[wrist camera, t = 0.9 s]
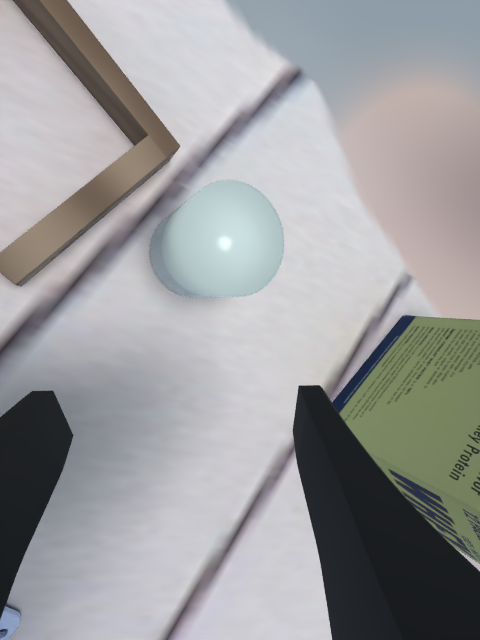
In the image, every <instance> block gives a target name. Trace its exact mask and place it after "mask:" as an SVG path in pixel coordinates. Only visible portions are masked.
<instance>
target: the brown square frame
mask: <svg viewBox="0 0 480 640" xmlns="http://www.w3.org/2000/svg"><path fill="white" fill-rule="evenodd" d="M13 1H14V2H15V3H16V4H17V5H18V7H19V8H20V9H21V10H22V11H23V12H24V14H25V15H26V16H27V17H28V18H29V20H30V21H31V22H32V23H33V24H34V26H35V27H36V28H37V29H38V30H39V32H40V33H41V34H42V35H43V36H44V38H45V39H46V40H47V41H48V42H49V44H50V45H51V46H52V47H53V48H54V50H55V51H56V52H57V53H58V54H59V56H60V57H61V58H62V59H63V60H64V62H65V63H66V64H67V65H68V66H69V68H70V69H71V70H72V71H73V72H74V73H75V75H76V76H77V77H78V78H79V79H80V81H81V82H82V83H83V84H84V85H85V87H86V88H87V89H88V90H89V91H90V93H91V94H92V95H93V96H94V97H95V99H96V100H97V101H98V102H99V103H100V105H101V106H102V107H103V108H104V109H105V111H106V112H107V113H108V114H109V115H110V117H111V118H112V119H113V120H114V121H115V123H116V124H117V125H118V126H119V127H120V129H121V130H122V131H123V132H124V133H125V134H126V136H127V137H128V138H129V139H130V140H131V142H132V143H133V144H134V145H135V146H134V147H133V148H132V149H130V150H129V151H128V152H127V153H125V154H124V155H123V156H122V157H120V158H119V159H118V160H116V161H115V162H114V163H113V164H111V165H110V166H109V167H108V168H106V169H105V170H104V171H103V172H101V173H100V174H99V175H98V176H96V177H95V178H94V179H93V180H91V181H90V182H89V183H87V184H86V185H85V186H84V187H82V188H81V189H80V190H79V191H77V192H76V193H75V194H74V195H72V196H71V197H70V198H69V199H67V200H66V201H65V202H64V203H62V204H61V205H60V206H58V207H57V208H56V209H55V210H53V211H52V212H51V213H50V214H48V215H47V216H46V217H45V218H43V219H42V220H41V221H40V222H38V223H37V224H36V225H35V226H33V227H32V228H31V229H29V230H28V231H27V232H26V233H24V234H23V235H22V236H21V237H19V238H18V239H17V240H16V241H14V242H13V243H12V244H11V245H9V246H8V247H7V248H6V249H4V250H3V251H2V252H0V273H1V274H3V275H4V276H5V277H6V278H7V279H9V280H10V281H11V282H12V283H13V284H15V285H18V286H22V285H23V284H25V283H26V282H27V281H28V280H29V279H31V278H32V277H33V276H34V275H35V274H36V273H38V272H39V271H40V270H41V269H42V268H44V267H45V266H46V265H47V264H48V263H49V262H51V261H52V260H53V259H54V258H55V257H57V256H58V255H59V254H60V253H61V252H62V251H64V250H65V249H66V248H67V247H68V246H70V245H71V244H72V243H73V242H74V241H75V240H77V239H78V238H79V237H80V236H81V235H83V234H84V233H85V232H86V231H87V230H88V229H90V228H91V227H92V226H93V225H94V224H96V223H97V222H98V221H99V220H100V219H101V218H103V217H104V216H105V215H106V214H107V213H109V212H110V211H111V210H112V209H113V208H114V207H116V206H117V205H118V204H119V203H120V202H122V201H123V200H124V199H125V198H126V197H127V196H129V195H130V194H131V193H132V192H133V191H135V190H136V189H137V188H138V187H139V186H140V185H142V184H143V183H144V182H145V181H146V180H148V179H149V178H150V177H151V176H152V175H153V174H155V173H156V172H157V171H158V170H159V169H161V168H162V167H163V166H164V165H165V164H166V163H168V162H169V161H170V159H171V158H172V157H173V155H174V154H175V153H176V151H177V150H178V149H179V147H180V145H179V144H178V142H177V141H176V140H175V138H174V137H173V136H172V135H171V133H170V132H169V131H168V130H167V128H166V127H165V126H164V124H163V123H162V122H161V121H160V119H159V118H158V117H157V115H156V114H155V113H154V112H153V110H152V109H151V108H150V106H149V105H148V104H147V103H146V101H145V100H144V99H143V97H142V96H141V95H140V94H139V92H138V91H137V90H136V88H135V87H134V86H133V85H132V83H131V82H130V81H129V79H128V78H127V77H126V76H125V74H124V73H123V72H122V70H121V69H120V68H119V67H118V65H117V64H116V63H115V61H114V60H113V59H112V58H111V56H110V55H109V54H108V52H107V51H106V50H105V49H104V47H103V46H102V45H101V43H100V42H99V41H98V40H97V38H96V37H95V36H94V34H93V33H92V32H91V31H90V29H89V28H88V27H87V25H86V24H85V23H84V22H83V20H82V19H81V18H80V16H79V15H78V14H77V13H76V11H75V10H74V9H73V7H72V6H71V5H70V4H69V2H68V1H67V0H13Z"/></svg>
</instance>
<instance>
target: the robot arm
mask: <svg viewBox="0 0 480 640" xmlns="http://www.w3.org/2000/svg"><path fill="white" fill-rule="evenodd" d="M293 436H294V444H295V451H296V459H297V465H298V469H299V473H300V478H301V482H302V486H303V490H304V494H305V498H306V502H307V507H308V511H309V515H310V519H311V523H312V527H313V531H314V535H315V539H316V544H317V548H318V553H319V558H320V563H321V569H322V575H323V582H324V588H325V594H326V601H327V607H328V614H329V621H330V627H331V634H332V640H480V571H479V570H478V569H477V568H476V567H474V566H473V565H472V564H471V563H470V562H469V561H468V560H467V559H466V558H465V557H464V556H463V555H462V554H460V553H459V552H458V551H457V550H456V549H455V548H454V547H453V546H452V545H451V544H450V543H449V542H448V541H447V540H446V539H445V538H444V537H443V536H442V535H441V534H440V533H439V532H438V531H437V530H436V529H435V528H434V527H433V526H432V525H431V524H430V523H429V522H428V521H427V520H426V519H425V518H424V517H423V516H422V514H421V513H420V512H419V511H418V510H417V509H416V508H415V507H414V506H413V505H412V504H411V503H410V502H409V501H408V499H407V498H406V497H405V496H404V495H403V494H402V493H401V492H400V491H399V489H398V488H397V487H396V486H395V485H394V484H393V483H392V481H391V480H390V479H389V478H388V477H387V475H386V474H385V473H384V472H383V471H382V469H381V468H380V467H379V466H378V465H377V463H376V462H375V461H374V460H373V458H372V457H371V456H370V455H369V453H368V452H367V451H366V449H365V448H364V447H363V446H362V444H361V443H360V442H359V440H358V439H357V438H356V436H355V435H354V434H353V432H352V431H351V430H350V428H349V427H348V426H347V424H346V423H345V421H344V420H343V418H342V417H341V416H340V414H339V413H338V411H337V410H336V408H335V407H334V405H333V404H332V402H331V401H330V399H329V398H328V396H327V395H326V393H325V391H324V390H323V388H322V387H321V386H320V385H313V386H299V388H298V396H297V403H296V410H295V418H294V425H293ZM72 438H73V434H72V431H71V429H70V427H69V425H68V423H67V420H66V418H65V416H64V414H63V412H62V409H61V407H60V405H59V403H58V401H57V398H56V396H55V394H54V392H53V391H32V392H30V393H29V394H28V395H27V396H25V397H24V398H23V399H22V400H21V401H19V402H18V403H17V404H16V405H15V406H13V407H12V408H11V409H10V410H9V411H7V412H6V413H5V414H4V415H3V416H2V417H0V630H2V629H7V630H6V631H4V632H0V640H7V639H8V638H9V637H10V635H11V634H12V633H13V632H14V631H15V629H16V628H17V627H18V625H19V624H20V618H21V615H20V613H19V612H18V611H16V610H13V609H11V608H8V607H6V606H5V605H6V602H7V600H8V597H9V594H10V591H11V588H12V585H13V583H14V580H15V577H16V574H17V572H18V569H19V567H20V564H21V562H22V559H23V557H24V555H25V552H26V550H27V548H28V546H29V543H30V541H31V539H32V537H33V535H34V532H35V530H36V528H37V526H38V524H39V521H40V519H41V517H42V515H43V513H44V510H45V508H46V506H47V504H48V502H49V499H50V497H51V495H52V493H53V491H54V488H55V486H56V484H57V482H58V479H59V477H60V475H61V472H62V470H63V467H64V464H65V461H66V458H67V455H68V452H69V448H70V445H71V441H72Z"/></svg>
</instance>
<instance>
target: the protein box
mask: <svg viewBox="0 0 480 640" xmlns="http://www.w3.org/2000/svg"><path fill="white" fill-rule="evenodd" d="M332 404H333V405H334V407H335V408H336V410H337V411H338V413H339V414H340V416H341V417H342V418H343V420H344V421H345V423H346V424H347V426H348V427H349V428H350V430H351V431H352V432H353V434H354V435H355V436H356V438H357V439H358V440H359V442H360V443H361V444H362V446H363V447H364V448H365V449H366V451H367V452H368V453H369V455H370V456H371V457H372V458H373V460H374V461H375V462H376V463H377V465H378V466H379V467H380V468H381V469H382V471H383V472H384V473H385V474H386V475H387V477H388V478H389V479H390V480H391V481H392V483H393V484H394V485H395V486H396V487H397V488H398V489H399V491H400V492H401V493H402V494H403V495H404V496H405V497H406V498H407V499H408V501H409V502H410V503H411V504H412V505H413V506H414V507H415V508H416V509H417V510H418V511H419V512H420V513H421V514H422V516H423V517H424V518H425V519H426V520H427V521H428V522H429V523H430V524H431V525H432V526H433V527H434V528H435V529H436V530H437V531H438V532H439V533H440V534H441V535H442V536H443V537H444V538H445V539H446V540H447V541H448V542H449V543H450V544H451V545H452V546H453V547H455V548H456V549H458V550H459V551H461V552H462V553H464V554H465V555H467V556H469V557H470V558H472V559H473V560H475V561H476V562H478V563H479V564H480V320H471V319H452V318H435V317H419V316H408V315H405V316H403V317H402V318H401V319H400V321H399V322H398V323H397V324H396V326H395V327H394V328H393V329H392V330H391V332H390V333H389V334H388V335H387V337H386V338H385V339H384V340H383V342H382V343H381V344H380V345H379V347H378V348H377V349H376V350H375V351H374V353H373V354H372V355H371V356H370V358H369V359H368V360H367V361H366V363H365V364H364V365H363V366H362V367H361V369H360V370H359V371H358V372H357V374H356V375H355V376H354V377H353V379H352V380H351V381H350V382H349V384H348V385H347V386H346V387H345V388H344V390H343V391H342V392H341V393H340V395H339V396H338V397H337V398H336V400H335V401H334V402H333V403H332Z"/></svg>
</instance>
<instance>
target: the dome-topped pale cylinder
mask: <svg viewBox="0 0 480 640" xmlns="http://www.w3.org/2000/svg"><path fill="white" fill-rule="evenodd" d="M283 252H284V235H283V229H282V225H281V222H280V219H279V216H278V214H277V212H276V210H275V208H274V207H273V205H272V204H271V202H270V201H269V200H268V199H267V198H266V197H265V196H264V195H263V194H262V193H261V192H260V191H259V190H257V189H256V188H254V187H252V186H251V185H249V184H246V183H244V182H240V181H236V180H221V181H217V182H214V183H211V184H209V185H207V186H205V187H204V188H202V189H201V190H200V191H199V192H197V193H196V194H195V195H194V196H193V197H191V198H190V199H189V200H188V201H186V202H185V203H184V204H183V205H181V206H180V207H179V208H178V209H177V210H175V211H174V212H173V213H172V214H170V215H169V216H168V217H167V218H166V219H164V220H163V221H162V222H161V223H160V224H159V225H158V226H157V228H156V229H155V231H154V233H153V235H152V238H151V242H150V250H149V254H150V261H151V265H152V268H153V270H154V272H155V274H156V276H157V278H158V279H159V280H160V282H161V283H162V284H163V285H164V286H165V287H166V288H168V289H169V290H171V291H172V292H174V293H176V294H178V295H181V296H185V297H241V296H247V295H251V294H253V293H256V292H258V291H260V290H261V289H263V288H264V287H265V286H266V285H267V284H268V283H269V282H270V281H271V280H272V279H273V278H274V276H275V275H276V273H277V271H278V269H279V267H280V264H281V261H282V257H283Z"/></svg>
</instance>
